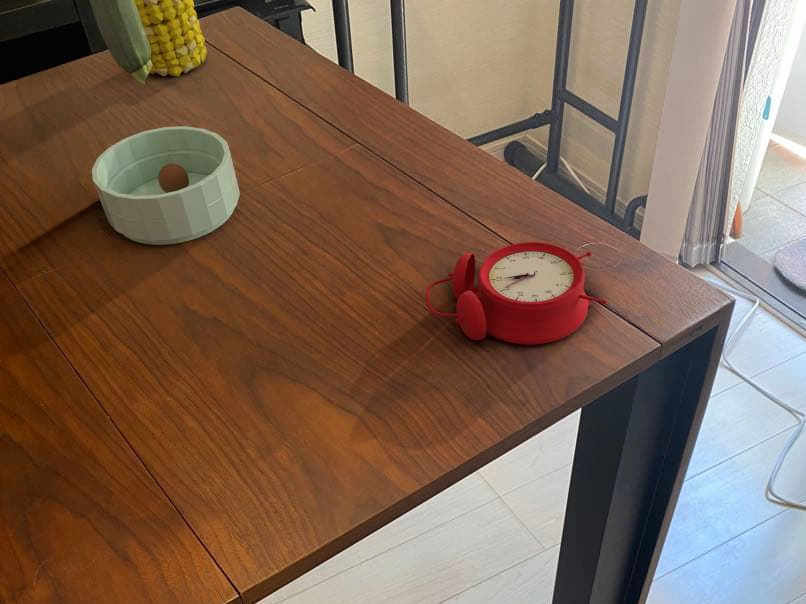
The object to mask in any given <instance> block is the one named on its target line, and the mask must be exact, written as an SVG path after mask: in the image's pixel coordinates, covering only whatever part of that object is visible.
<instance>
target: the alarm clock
mask: <svg viewBox="0 0 806 604" xmlns="http://www.w3.org/2000/svg"><path fill="white" fill-rule="evenodd" d="M591 256H592V252H591V250H588V251H587V252H586V253H584V254H582V255H579V256H576V254H574V253H572V252H571V251H569V250H568V249H566V248H564V247H562V246H559V245H556V244H552V243H548V242H541V241H526V242H525V241H524V242H518V243H513V244H509V245H506V246H503V247H501V248H499V249H497V250H494V252H492V253H491V254H489V255H488V256H487V257H486V258H485V260H484V261H483V262H482V264H481V266H480V268H479V272H478V275H477V278H478V287H474V284H475V276H476V257H475V253H473V252H466V253H464V254H462V255H461V256H460V257H459V258H458V259H457V261H456V264H455V266H454V270H453V272H449V273H448V277H445V278H442V279H439V280H435V281H434V282H432V283H431V284H430V285H429V286H428V288H427V289H426V293H425V302H426V305H427V308H428V309H429V311H430V312H431V313H432V314H434V315H436V316H439V317H446V318H447V317H449V318H450V317H452V318H455V319H454V321H455V323H458V325H459V326H460V329H461V330H462V332H463V333H464V334H465V336H466V337H467V338H468V339H469V340H472V341H480V340H483V339H485V338H486V335H487V334H488V335H490V336H492V337H493V338H496V339H498V340H500V341H504V342H508V343H512V344H520V345H543V344H547V343H552V342H555V341H558V340H561V339H563V338H566V337H567V336H570V335H571V334H572V333H574V332H575V331H577V330H578V329H579V328H580V327H581V326H582V325H583V323H584V322H585V320H586V318H587V316H588V311H589V307H590V309H591V307H592V304H591V302H597V303H601V305H603V306H604V305H606V304H607V300H606V298H605V299H604V298H603V299H599V298H595V297H593V296H589V295H587V294H586V292H585V290H584V285H585V280H586V276H585V275H586V273H585V270H584V266H583V264H582V261H581V260H582V259H584V258H586V257H591ZM450 281H452V290H453V294H454V297H455V298H456V299H457V302H456V308H455V309H456V310H455V311H456V313H442V312H438V311H437V310H435V309H434V308H433V307H432V306H431V302H430V292H431V290H432V288H433V287H435V286H436V285H439V284H441V283H444V282H450ZM474 292H475V293H474Z"/></svg>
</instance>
